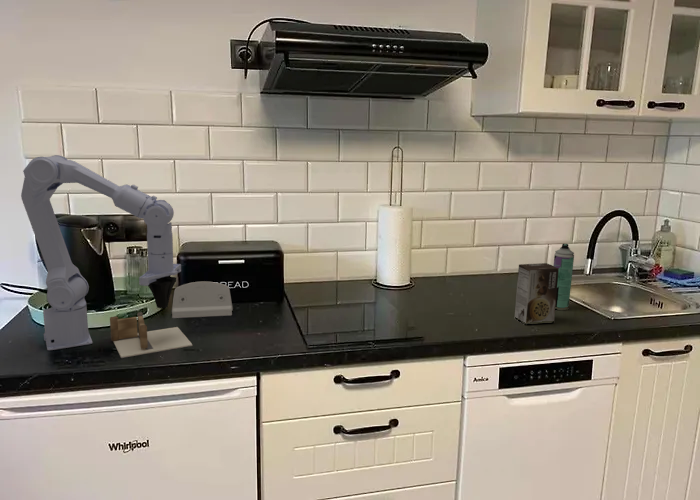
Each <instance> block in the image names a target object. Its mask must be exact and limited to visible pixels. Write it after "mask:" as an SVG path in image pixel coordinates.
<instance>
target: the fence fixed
mask: <svg viewBox="0 0 700 500" xmlns="http://www.w3.org/2000/svg"><path fill="white" fill-rule="evenodd" d="M109 324H110V325H109V327H110V341H112V342H113V341H118V340H119V339H125V338H132V337H138V317H137V316H132V317H126V318H125V317H124V318H119V317H118V316H111V317H109Z"/></svg>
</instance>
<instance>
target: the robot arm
mask: <svg viewBox="0 0 700 500" xmlns="http://www.w3.org/2000/svg"><path fill="white" fill-rule="evenodd" d="M22 173H23V175H24V177H23V185H22V189H21V195H20V196H21V201H22V203H23V206H24V209H25V211H26V214H27V218H28V220H29V223H30V225H31V228H32V231H33V233H34V234H33V235H34V237H35V239H36V242H37V244H38V247H39V251H40V252H41V253H40V254H41V257H42V258H43V262H44V264H45V267H46V270H47V274H46V279H45V284H46V287H47V293H46V299H47V303H48V304H49V305H50V306H51V307H50V308H45V309H43V310H42V311H43V312H42V315H43V324H44V325H43V326H44V333H43V341H45V345H46V350H47V351H53V350H54V351H55V350H61V349H66V348H67V349H68V348H74V347H79V346H87V345H91V344H93V340H92V338H91V334H90V331H89V323H88V309H87V301H86V299H85V296H87V294H88V293H89V288H90V286H89V283H88V281H87V280H86V279H85V277H84V276H83V275H82V274H81V272H80V269H79V268H78V267H77V266H76V265H74V264H73V262H72V260H71V257H70V254H69V250H68V248H67V245H66V242H65V239H64V237H63V234H62V232H61V228H60V225H59V222H58V219H57V216H56V215H55V211H54V209H53V205H52V203H51V198H52V197H53V195H54V194H55V192H56V190H57V189H58V188H59V187H60V186H61V185H63V184H79V185H80V186H81V185H82V186H84V187H86V188H88V189H90V190H93V191H94V192H95V191H96V192H97V193H99V194H102V195H104V196H106V197H109V198H110V199H111V200H112V202H113V204H114V206H115V207H117V208H119V209H120V210H122V211H124V212H126V213H129V214H130V215H132V216H134V217H136V218H138V219H140V220H141V219H143V222H144V223H145V225H146V230H147V231H146V242H147V243H146V246H147V271H145V273H143V275H140V276H139V277H138V283H139V286H145V287H148V288H149V289H150V292H151V293H152V296H153V299H154V302H155V305H156V308H159V309H166V308H168V306H169V301H170V297H171V294H172V290H173V288H174V286H175V284H176V282H177V277H176V276H175V275H178V274H179V273H181V272H182V264H181V263H174V243H173V230H172V228H173V225H172V222H171V221H172V220H173V218H174V216H175V215H174V213H175V212H174V208H173V206H172V205H171V204H170V203H169V202H168V201H166V200H165V199H158V197H157V196H155V195H149V194H147V193H145V192H143V191H141V190H139V189H138V188H139V186H137V185H135V184H132V185H130V184H129V183H128V184H126V183H125V184H123V185H118V184H116V183H115V182H113V181H111V180H110V179H107V178H106V177H104V176H102V175H100V174H98V173H97V172H95V171H93V170H91V169H90V168H87V167H86V166H85V165H83V164H80V163H78V162H76V160H75V161H74V160H73V159H67V157H64V156H63V155H61V154H54V155H51V156H49V155H48V156H36V157H35V158H32V159H31V160H30V161H29V163H28V164H27V165H26V166H25V168H24V169H23V170H22Z"/></svg>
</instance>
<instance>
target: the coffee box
mask: <svg viewBox="0 0 700 500" xmlns="http://www.w3.org/2000/svg"><path fill="white" fill-rule="evenodd" d="M517 272H518V273H517V282H516V284H517V285H516V294H515V295H516V296H515V308H514V309H515V310H514V318H515V317H516V318H518V319H520V320H521V321H523V322H525V323H530V322H542V321H554V322H555V316H556V315H555V314H556V310H555V306H556V294H557V283H558V272H559V268H556V267H554V265H552V264H549V263H547V262H545V263H542V262H541V263H525V264H524V263H522V264H518V271H517Z"/></svg>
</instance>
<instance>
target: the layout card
mask: <svg viewBox="0 0 700 500" xmlns="http://www.w3.org/2000/svg"><path fill="white" fill-rule="evenodd" d="M147 340H148V347H147V348H144V349H143V348H141V347H140V337H139V333H138V337H132V338H125V339H119V340H118V341H112V342H113V344H114V346H115V348H116V350H117V352H118V354H119V357H120V358H121V359H123V358H128V357H134V356H140V355H146V354H152V353H153V354H154V353H157V352H165V351H169V350H175V349H181V348H186V347H193V344H192V342H191V340H189V338H188V337H187V336H186V335H185V334H184V332H182V330H181V329H180V328H179V327H178V326H176V327H175V326H174V327H168V328H162V329H155V330H149V331H148V330H147Z"/></svg>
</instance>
